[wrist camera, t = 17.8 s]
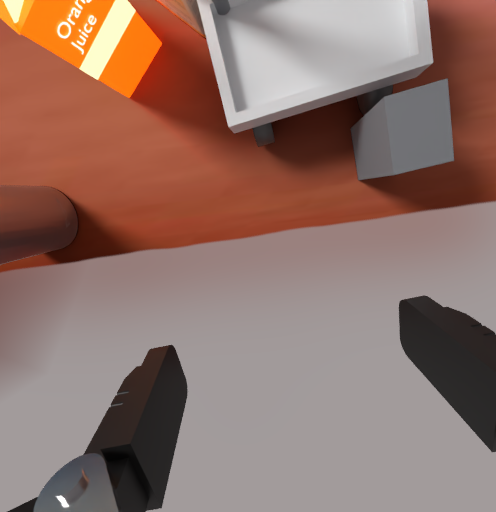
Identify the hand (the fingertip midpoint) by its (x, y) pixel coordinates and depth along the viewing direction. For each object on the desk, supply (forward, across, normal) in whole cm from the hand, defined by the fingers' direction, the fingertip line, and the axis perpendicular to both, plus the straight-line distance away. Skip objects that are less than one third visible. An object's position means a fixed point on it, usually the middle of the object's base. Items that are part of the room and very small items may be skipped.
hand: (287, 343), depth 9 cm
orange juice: (+32, +12, -23) cm, 41 cm away
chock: (+26, -16, -5) cm, 30 cm away
